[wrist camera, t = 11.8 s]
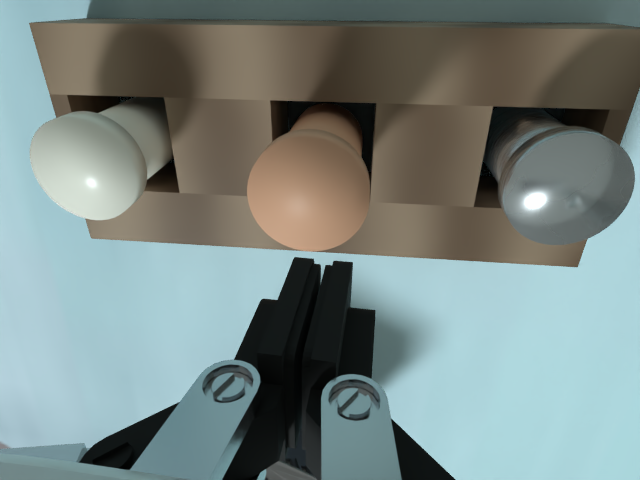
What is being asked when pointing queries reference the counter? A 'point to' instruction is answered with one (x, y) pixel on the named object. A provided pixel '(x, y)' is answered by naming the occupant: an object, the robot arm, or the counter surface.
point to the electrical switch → (291, 465)
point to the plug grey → (556, 175)
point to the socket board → (342, 86)
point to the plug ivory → (102, 156)
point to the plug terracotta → (312, 181)
